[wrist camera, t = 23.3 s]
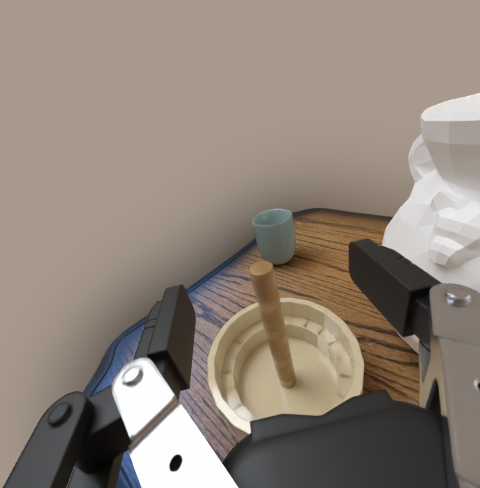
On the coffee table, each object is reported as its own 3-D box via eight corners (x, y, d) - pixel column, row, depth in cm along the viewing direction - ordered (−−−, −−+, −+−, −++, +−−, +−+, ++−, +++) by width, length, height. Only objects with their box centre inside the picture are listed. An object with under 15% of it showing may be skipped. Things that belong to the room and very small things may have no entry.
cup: (289, 272, 44) (282, 226, 40) (255, 266, 49) (244, 224, 44) (303, 251, 50) (298, 208, 45) (271, 247, 54) (263, 208, 50)
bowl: (264, 522, 18) (248, 496, 15) (205, 366, 31) (191, 337, 28) (399, 405, 23) (405, 369, 20) (298, 312, 36) (293, 281, 33)
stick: (285, 392, 25) (256, 278, 18) (275, 377, 27) (244, 267, 20) (299, 382, 26) (277, 267, 18) (289, 368, 28) (264, 257, 20)
